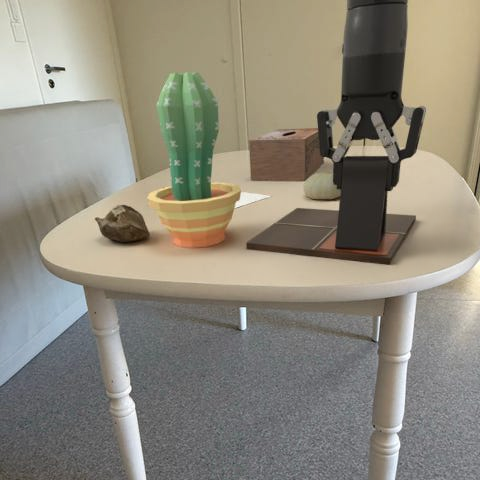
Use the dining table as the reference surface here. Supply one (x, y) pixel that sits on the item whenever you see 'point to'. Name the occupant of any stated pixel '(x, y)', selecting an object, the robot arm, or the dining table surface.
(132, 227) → the fossilized seashell
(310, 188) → the sea urchin shell
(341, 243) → the phone stand
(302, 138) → the tissue box cover
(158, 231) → the dining table surface
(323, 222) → the board
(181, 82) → the potted cactus
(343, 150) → the robot arm
